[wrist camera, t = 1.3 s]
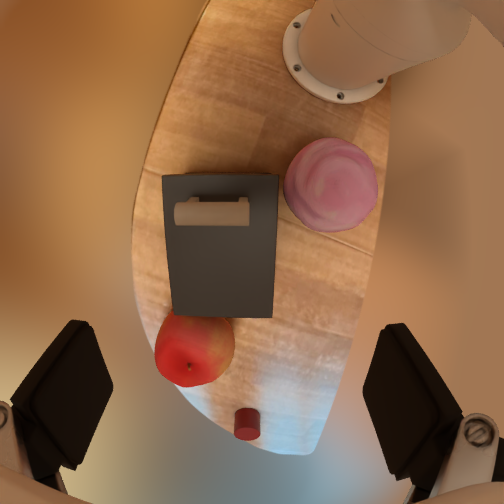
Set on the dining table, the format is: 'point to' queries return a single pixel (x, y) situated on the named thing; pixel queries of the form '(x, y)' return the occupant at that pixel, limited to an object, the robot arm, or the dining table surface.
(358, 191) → the cupcake
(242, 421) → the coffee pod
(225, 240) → the bin lid
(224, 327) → the apple
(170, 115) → the dining table surface
